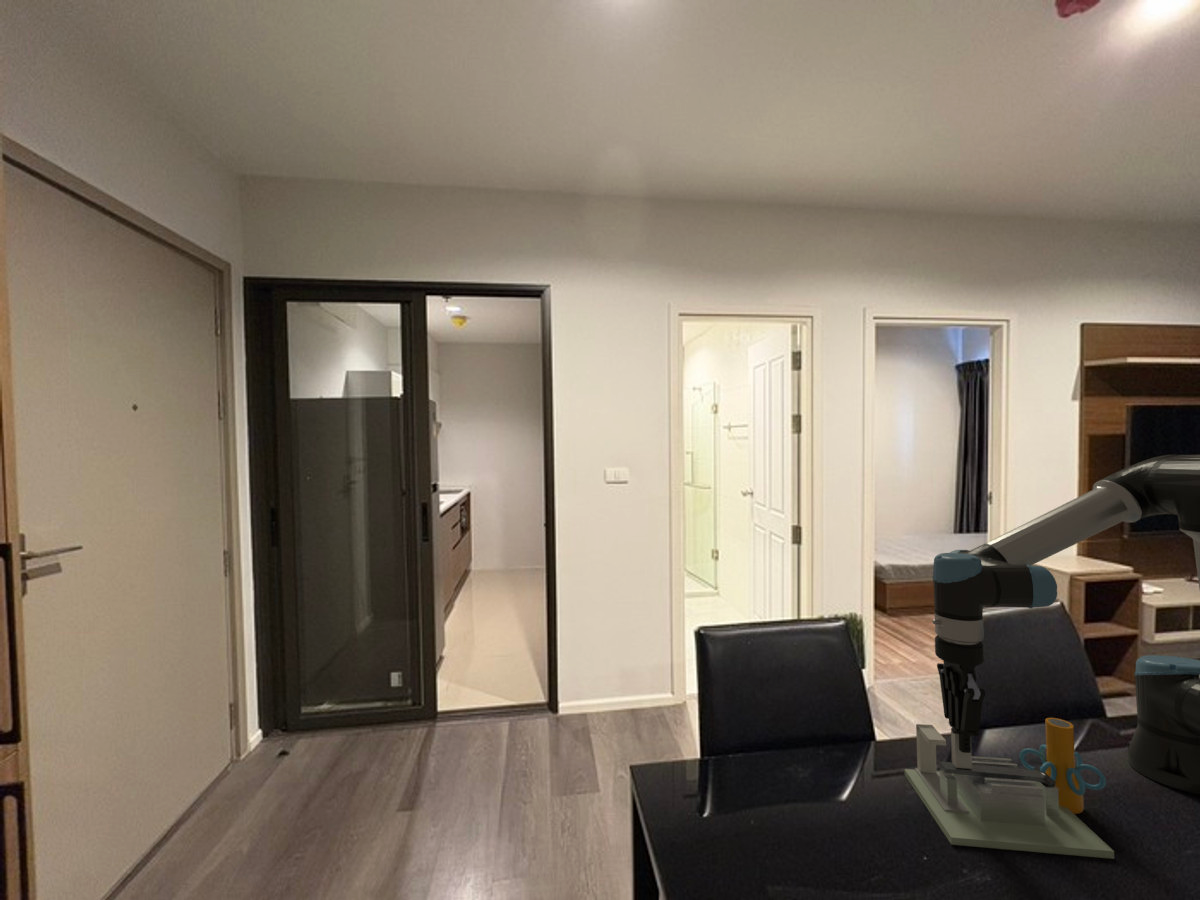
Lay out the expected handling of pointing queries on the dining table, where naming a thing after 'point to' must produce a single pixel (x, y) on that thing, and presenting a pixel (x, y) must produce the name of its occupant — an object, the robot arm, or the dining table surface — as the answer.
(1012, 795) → the heatsink
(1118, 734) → the dining table surface
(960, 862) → the dining table surface
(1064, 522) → the robot arm
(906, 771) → the board
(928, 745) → the latch
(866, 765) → the dining table surface
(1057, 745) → the orange tube with rings
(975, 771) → the strap
